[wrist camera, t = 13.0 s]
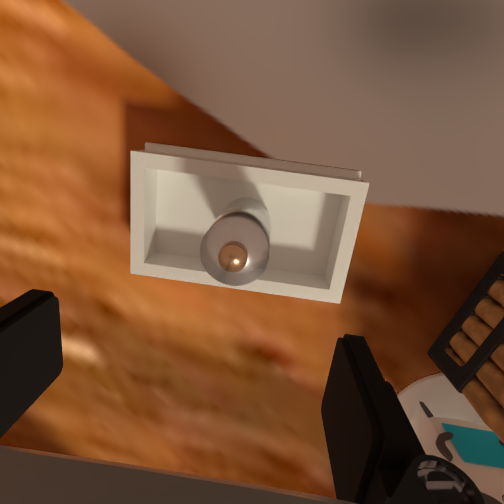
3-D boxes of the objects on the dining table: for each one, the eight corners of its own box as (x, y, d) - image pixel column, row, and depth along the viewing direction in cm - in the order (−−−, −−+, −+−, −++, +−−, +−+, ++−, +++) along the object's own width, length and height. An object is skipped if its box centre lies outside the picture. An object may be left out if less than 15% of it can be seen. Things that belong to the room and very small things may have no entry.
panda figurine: (537, 385, 30) (777, 612, 15) (487, 473, 33) (642, 719, 19) (407, 361, 30) (526, 564, 16) (371, 451, 33) (441, 679, 19)
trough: (331, 289, 28) (338, 309, 24) (147, 262, 28) (130, 279, 25) (358, 170, 24) (371, 175, 21) (149, 142, 25) (130, 142, 22)
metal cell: (267, 250, 26) (263, 296, 18) (217, 244, 26) (194, 286, 19) (274, 201, 25) (273, 229, 17) (222, 194, 25) (198, 218, 17)
